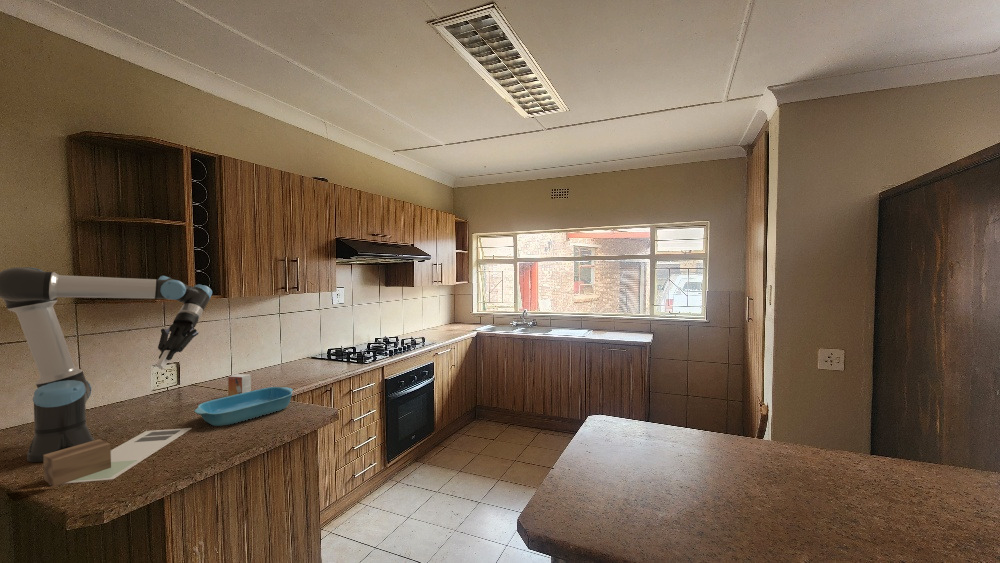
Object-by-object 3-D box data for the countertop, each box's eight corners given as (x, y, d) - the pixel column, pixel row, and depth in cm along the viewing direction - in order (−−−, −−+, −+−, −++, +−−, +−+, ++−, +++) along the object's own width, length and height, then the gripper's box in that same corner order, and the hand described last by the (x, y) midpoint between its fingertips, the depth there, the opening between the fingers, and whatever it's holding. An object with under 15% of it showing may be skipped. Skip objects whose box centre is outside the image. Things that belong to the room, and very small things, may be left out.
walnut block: (44, 479, 113) (43, 454, 113) (100, 461, 123) (99, 438, 123) (54, 486, 109) (53, 460, 109) (111, 467, 120) (110, 443, 120)
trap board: (48, 486, 110) (48, 484, 110) (146, 432, 148) (146, 430, 148) (113, 481, 113) (112, 479, 113) (192, 429, 151) (192, 427, 150)
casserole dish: (205, 434, 146) (205, 416, 146) (187, 421, 159) (186, 404, 159) (302, 407, 176) (302, 391, 175) (280, 398, 189) (280, 383, 189)
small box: (228, 397, 189) (227, 376, 189) (237, 394, 195) (237, 373, 195) (242, 398, 188) (241, 377, 188) (251, 394, 194) (250, 374, 193)
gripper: (209, 322, 165) (183, 371, 149) (175, 321, 162) (145, 371, 147) (201, 311, 159) (174, 361, 144) (166, 311, 157) (135, 361, 141)
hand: (160, 366), depth 145 cm, fingers closed
